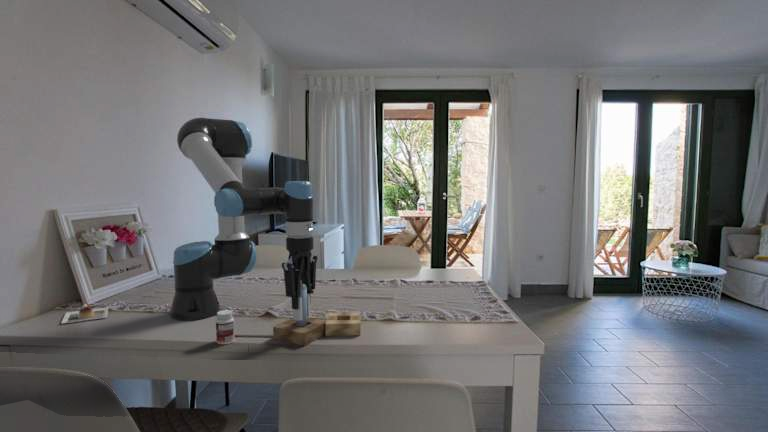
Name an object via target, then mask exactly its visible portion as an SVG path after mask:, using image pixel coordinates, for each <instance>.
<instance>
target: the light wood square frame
mask: <svg viewBox="0 0 768 432" xmlns="http://www.w3.org/2000/svg"><path fill="white" fill-rule="evenodd" d="M325 321H326V323H325V337H327V336H329V337H334V336H335V337H336V336H337V337H338V336H361V323H362V321H361V312H360V311H359V312H327V315H326V320H325Z"/></svg>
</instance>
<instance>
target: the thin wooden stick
mask: <svg viewBox="0 0 768 432" xmlns="http://www.w3.org/2000/svg"><path fill="white" fill-rule="evenodd" d="M235 337H239V338H241V337H242V338H243V337H246V338H248V337H249V338H250V337H251V338H255V337H256V338H261V337H263V338H273V333H235Z"/></svg>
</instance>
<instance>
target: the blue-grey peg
mask: <svg viewBox="0 0 768 432" xmlns="http://www.w3.org/2000/svg"><path fill="white" fill-rule="evenodd" d="M300 297H302V320H301V321H300V320H296V327H301V328H303V327H305V326H307V287H306V285H305V284H303V283H301V285H300Z"/></svg>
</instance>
